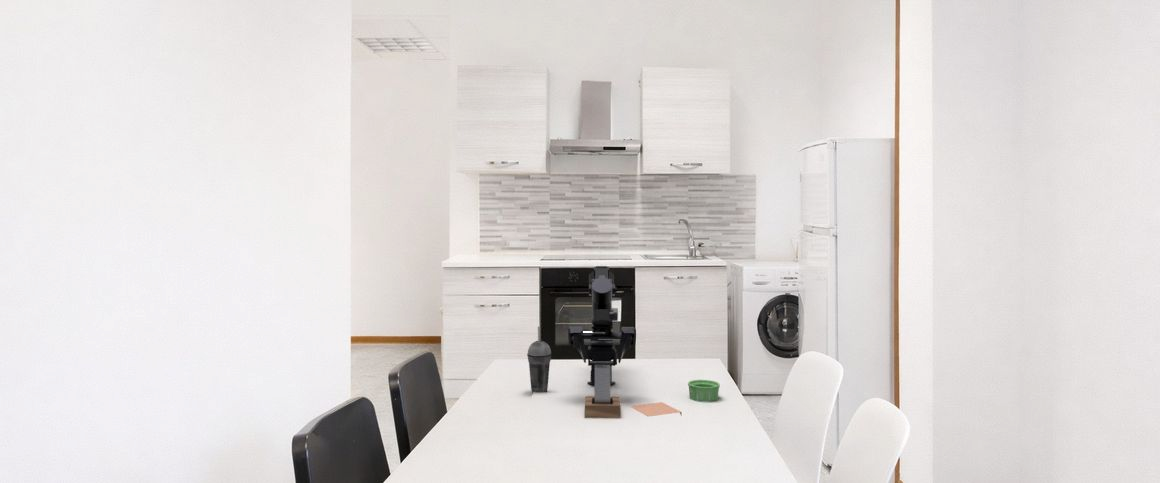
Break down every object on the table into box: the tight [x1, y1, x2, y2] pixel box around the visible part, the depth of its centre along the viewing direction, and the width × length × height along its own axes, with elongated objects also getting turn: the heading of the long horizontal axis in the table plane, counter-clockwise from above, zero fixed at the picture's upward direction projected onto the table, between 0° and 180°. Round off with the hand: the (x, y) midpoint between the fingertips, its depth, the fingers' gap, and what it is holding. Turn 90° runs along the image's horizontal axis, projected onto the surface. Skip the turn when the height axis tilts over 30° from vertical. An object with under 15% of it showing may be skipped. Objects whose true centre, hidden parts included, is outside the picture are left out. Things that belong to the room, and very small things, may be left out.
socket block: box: [584, 395, 621, 419], centre depth 161 cm, size 9×9×4 cm
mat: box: [629, 401, 683, 417], centre depth 165 cm, size 10×10×1 cm
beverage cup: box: [527, 326, 552, 395], centre depth 184 cm, size 7×7×20 cm
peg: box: [594, 365, 611, 404], centre depth 161 cm, size 4×4×12 cm
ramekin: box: [687, 379, 721, 402], centre depth 179 cm, size 9×9×4 cm
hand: (602, 362), depth 168 cm, fingers open, 9 cm apart
